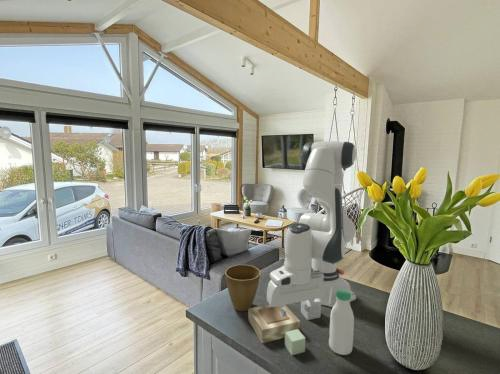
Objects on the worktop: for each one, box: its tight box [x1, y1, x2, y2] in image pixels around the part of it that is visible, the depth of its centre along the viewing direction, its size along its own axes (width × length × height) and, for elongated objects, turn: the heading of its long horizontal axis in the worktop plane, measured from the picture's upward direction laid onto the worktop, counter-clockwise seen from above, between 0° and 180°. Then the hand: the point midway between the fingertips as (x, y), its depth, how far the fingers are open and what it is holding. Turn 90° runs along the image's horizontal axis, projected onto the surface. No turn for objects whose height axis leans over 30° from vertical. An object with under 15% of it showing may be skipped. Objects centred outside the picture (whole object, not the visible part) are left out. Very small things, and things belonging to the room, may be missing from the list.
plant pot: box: [224, 264, 261, 312], centre depth 116 cm, size 15×15×16 cm
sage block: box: [284, 329, 306, 356], centre depth 92 cm, size 5×5×5 cm
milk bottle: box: [328, 290, 355, 356], centre depth 92 cm, size 8×8×20 cm
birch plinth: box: [247, 303, 301, 344], centre depth 104 cm, size 15×14×5 cm
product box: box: [300, 299, 322, 321], centre depth 112 cm, size 6×6×7 cm
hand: (295, 313), depth 91 cm, fingers open, 8 cm apart
